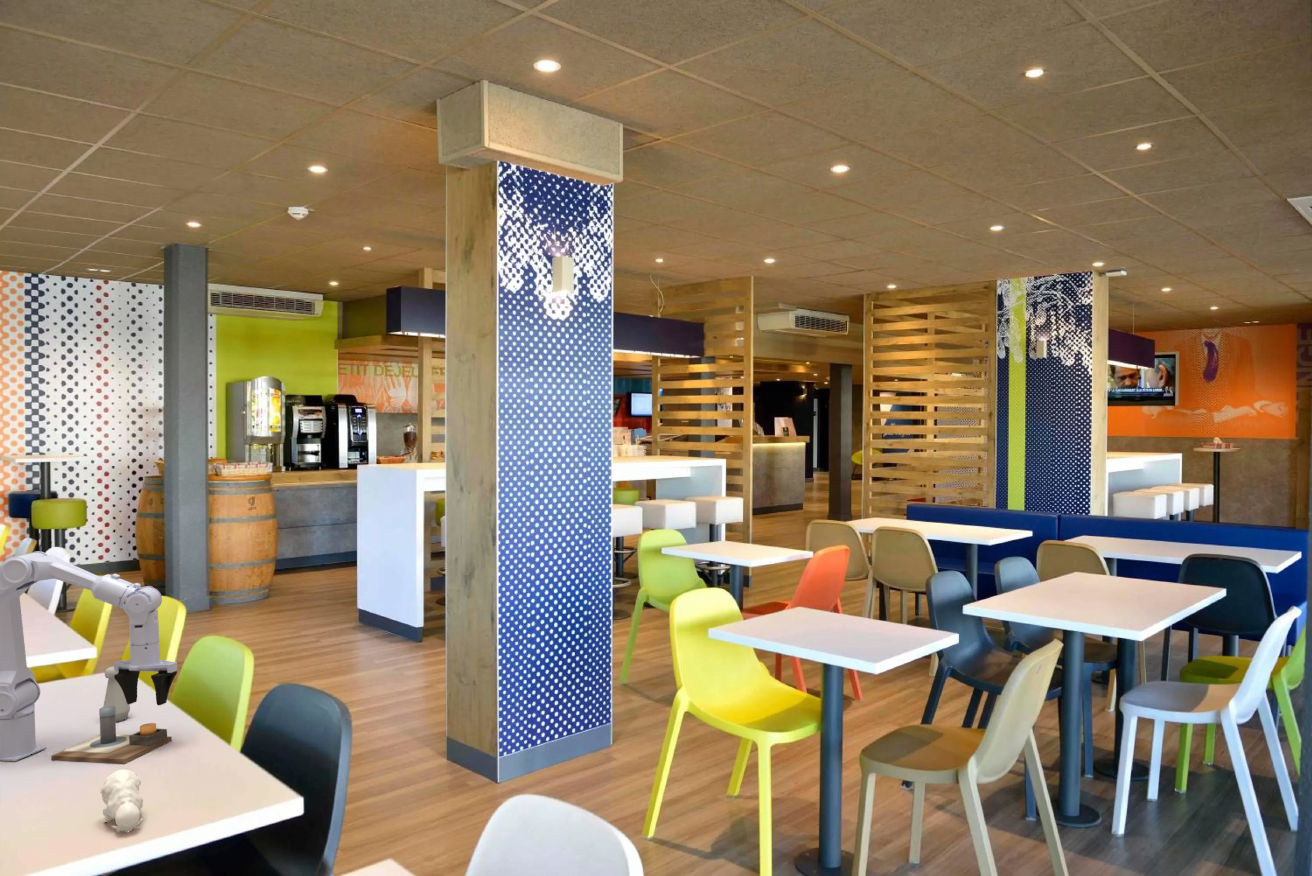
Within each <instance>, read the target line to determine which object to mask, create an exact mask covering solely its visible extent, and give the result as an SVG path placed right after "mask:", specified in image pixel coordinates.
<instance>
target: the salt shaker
mask: <svg viewBox="0 0 1312 876" xmlns="http://www.w3.org/2000/svg"><path fill="white" fill-rule="evenodd" d="M118 672H119V671H114V665H112V666H110V667H107V668H106V669H105V670H104V676H105V678H106V679H108V680H107V685H106V690H105V696H104V700H103V707H106V706H115V709H116V714H115V717H116V723H118V722H117V721H119V722H123V721H125V720H127V719H126V718H128V716H129V714H130V710H131V704H127V702H126V699H125V696H124V693H123V691H122V689H121V687H120V685H119V684H118V682H117V681H116V680H115V679H114V675H116V674H118ZM124 719H125V720H124ZM122 720H123V721H122Z"/></svg>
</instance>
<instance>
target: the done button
mask: <svg viewBox="0 0 1312 876" xmlns="http://www.w3.org/2000/svg"><path fill="white" fill-rule="evenodd" d="M156 729H157V723H156V722H149V723H144V724H141V725H140V726H139V731H140V736H150V735H153V734H155V733H156Z"/></svg>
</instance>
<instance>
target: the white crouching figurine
mask: <svg viewBox="0 0 1312 876" xmlns="http://www.w3.org/2000/svg"><path fill="white" fill-rule="evenodd" d="M141 782H142V781H141V779H140V778H139V777H138V775H137V774H136V773H135V772H134V771H133V770H129V769H119V770H116V771H114V772H113V773H111V774H109V775H107V777H105V780H104V782H103V785H102V786H101V788H100V794H101V797H102V802H103V803H104V804H105V805H106V807H105V808H103V810H102V816H103V817H104V818H103V823H104V824H106V823H105V822H109V821H110V822H112V821H113V820H114V819H115V824H116V825H111V828H114V829H116V831H115V832H116V833H118V832H124V833H125V832H126V833H127V832H128V831H131V832H132V830H134V829H136V828H138V827H139V826H140V825H139V824H140V823H141V822H142V821H143V819H144V817H142V818H141V815H142V810H141V809H142V808H143V806H144V805H143V803H144V799H143V798H142V795H141V794H140V792H139V791H140V785H141ZM140 818H141V819H140ZM111 820H112V821H111ZM110 822H109V823H110Z"/></svg>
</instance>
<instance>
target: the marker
mask: <svg viewBox="0 0 1312 876" xmlns="http://www.w3.org/2000/svg"><path fill="white" fill-rule="evenodd" d="M115 714H116V709H115V706H106V707H101V708H99V709H98V715H99V735H100V743H101V744H109V743H113V742H115V741H116V734H117V725H116V723H117V722H116V717H115Z"/></svg>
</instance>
